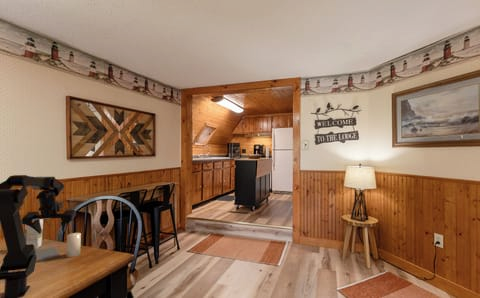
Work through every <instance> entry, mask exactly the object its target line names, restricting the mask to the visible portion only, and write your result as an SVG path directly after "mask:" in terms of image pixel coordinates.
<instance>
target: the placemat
mask: <svg viewBox="0 0 480 298" xmlns="http://www.w3.org/2000/svg"><path fill="white" fill-rule="evenodd" d="M35 252H36V253H35V255H36V256H37V259H36V263H38V262H42V261H46V260H51V259H54V258H55V259H56V258H58V257H61V255H60V253H59V251H58V250H57V249H56V247H55V246H53V245H52V246H49V247H45V248H41V249H39V248H38V249H35Z"/></svg>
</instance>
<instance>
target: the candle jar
mask: <svg viewBox="0 0 480 298" xmlns="http://www.w3.org/2000/svg"><path fill="white" fill-rule="evenodd" d="M81 238H82V233H81V232H72V233H68V234H67V236H66V254H65V256H66V258H73V257H78V256H79V255H81V247H82V246H81V243H82V241H81Z"/></svg>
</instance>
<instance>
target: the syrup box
mask: <svg viewBox="0 0 480 298" xmlns="http://www.w3.org/2000/svg"><path fill="white" fill-rule="evenodd" d="M40 226H41V234H39V233H38V232H37V231H35V230H34V229H33V228H31V227H30V226H26V224H24V236H25V241H26V244H27V245H29V244H33V245H34V249H35V250H39V248H40V247H42V245H43V233H44V231H43V229H44V219H40Z"/></svg>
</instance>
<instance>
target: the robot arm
mask: <svg viewBox="0 0 480 298" xmlns="http://www.w3.org/2000/svg"><path fill="white" fill-rule="evenodd" d="M13 187H21V189H19V188H13ZM28 188H31V189H32V190H35V191H40V192H39V193H38V194H37V195H36V197H35V199H36V200H38V203H39V207H38V211H28V212H27V213H26V214H25V215H24V216H22V217H21V214H20V209H21V208H22V206H23V205H24V202H25V199H26V197H27V196H28V195H29V192H28ZM64 189H65V185H64V183H63V182H61V181H60V180H59V179H57V178H56V177H55V176H31V175H30V176H29V175H25V174H14V175H13V174H12V175H10V176H8V178H7V179H6V180H4V181H2V182H0V226H1V230H2V235H3V239H4V242H5V247H6V250H7V252H6V253H5V255H4V257H3V258H2V264H1V266H0V281H2V280H4V293H3V294H2V295H1V296H0V298H19V297H23V296H25V295H26V294H27V292H28V291H29V289H30V288H31V285H27V284H28V282H27V281H28V277H30V276H31V275H32V274H33V273H34V272H35V268H36V263H37V262H36V259H37V256H36V255H35V253H36V252H35V250H36V249H34V245H33V244H29V245H27V244H26V241H25V231H24V228H23V225H25V224H26V226H30V227H31V228H33V229H34V230H35V231H37V232H38V233H39V234H41V226H40V219H43V220H50V219H60V221H61V222H60V224H61V231H62V232H63V233H64V232H65V231H66V229H67V225H68V224H69V223H70V222H72V221H73V220H74V219H75V217H76V215H77V211H76V210H75V209H66V210H65V211H64V212H62V213H60V211H61V209H63V202H64V201H57V199H56V198H57V197H58V196H59V195H60V194H61V193H62V192H63V190H64Z"/></svg>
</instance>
